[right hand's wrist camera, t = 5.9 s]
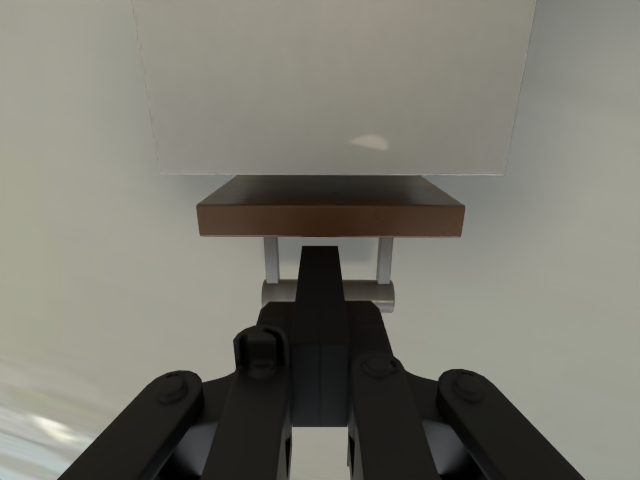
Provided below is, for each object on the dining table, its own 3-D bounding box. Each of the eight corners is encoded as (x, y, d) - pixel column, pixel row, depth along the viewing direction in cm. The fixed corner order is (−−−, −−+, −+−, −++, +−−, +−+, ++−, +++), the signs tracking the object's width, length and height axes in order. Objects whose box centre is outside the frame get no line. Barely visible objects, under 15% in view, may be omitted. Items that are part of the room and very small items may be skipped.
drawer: (403, 278, 21) (442, 363, 14) (251, 277, 21) (215, 361, 14) (446, -184, 14) (572, -488, 7) (216, -182, 14) (106, -480, 7)
